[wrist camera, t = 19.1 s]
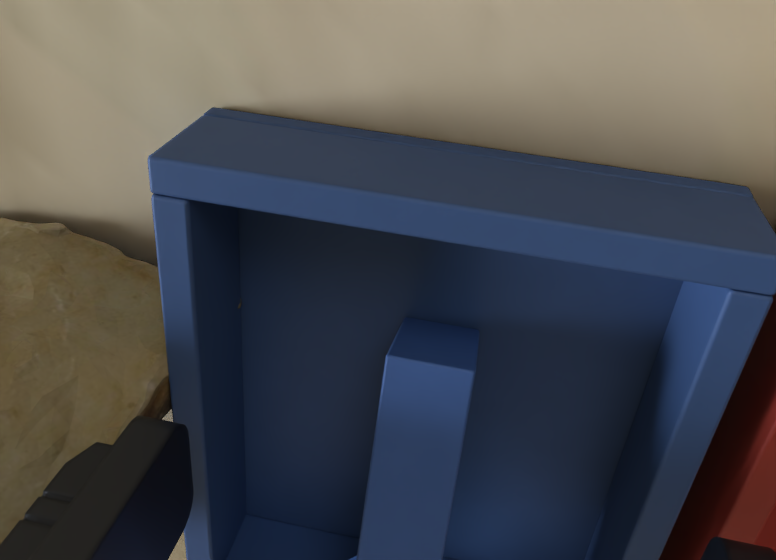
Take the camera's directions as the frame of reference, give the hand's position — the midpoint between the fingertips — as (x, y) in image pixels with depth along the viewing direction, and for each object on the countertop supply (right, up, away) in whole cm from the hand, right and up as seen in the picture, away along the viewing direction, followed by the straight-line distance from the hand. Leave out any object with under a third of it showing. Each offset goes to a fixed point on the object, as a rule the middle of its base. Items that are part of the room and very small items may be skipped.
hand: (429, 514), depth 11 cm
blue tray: (0, +1, +3) cm, 4 cm away
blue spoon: (0, -1, +3) cm, 3 cm away
